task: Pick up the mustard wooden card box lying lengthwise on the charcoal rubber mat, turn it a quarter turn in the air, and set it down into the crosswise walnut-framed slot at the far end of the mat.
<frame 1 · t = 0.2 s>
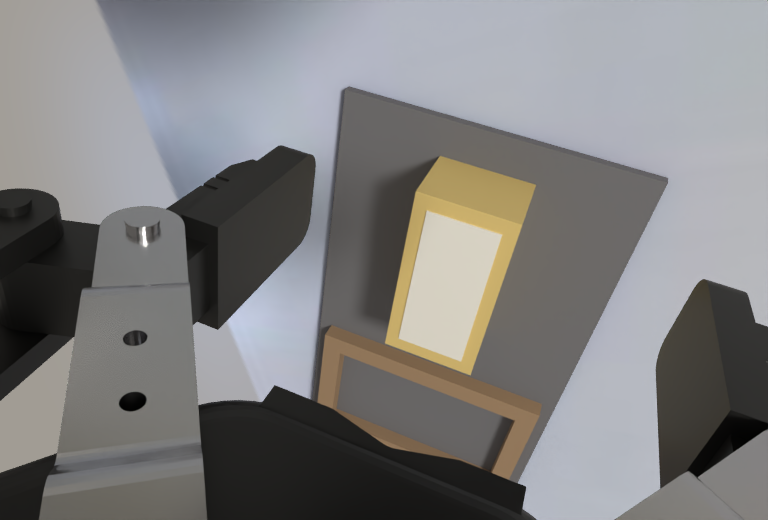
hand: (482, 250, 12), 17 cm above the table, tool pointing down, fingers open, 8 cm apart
mat: (442, 333, 37), on the table
card box: (464, 249, 33), resting on mat
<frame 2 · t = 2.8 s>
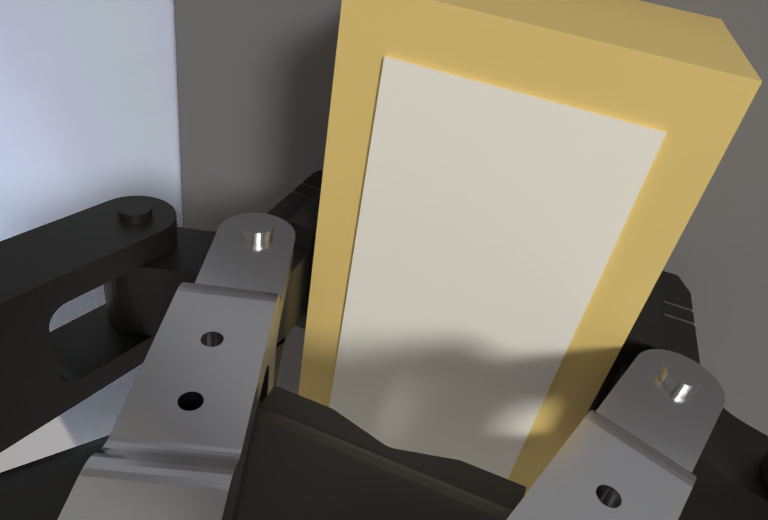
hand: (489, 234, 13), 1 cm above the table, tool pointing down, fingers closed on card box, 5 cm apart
mat: (434, 422, 17), on the table
card box: (493, 228, 13), resting on mat, touching gripper
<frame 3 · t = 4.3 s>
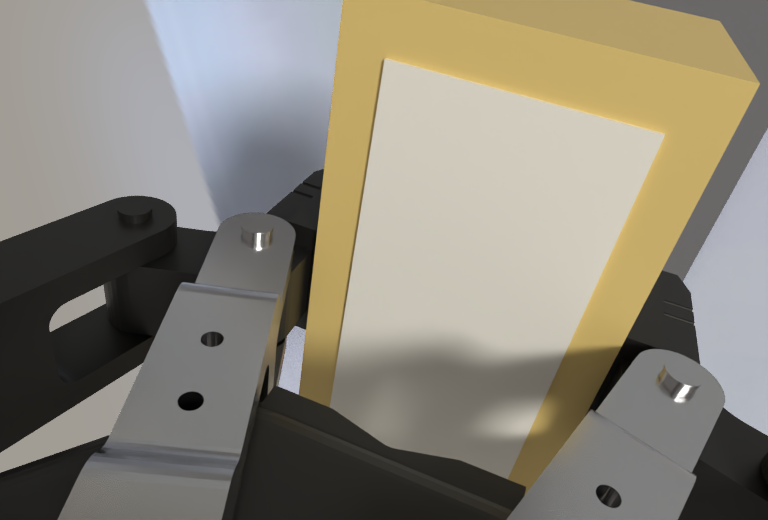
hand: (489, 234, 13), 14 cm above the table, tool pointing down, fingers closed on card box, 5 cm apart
mat: (509, 224, 29), on the table
card box: (493, 229, 13), point 14 cm above the table, touching gripper
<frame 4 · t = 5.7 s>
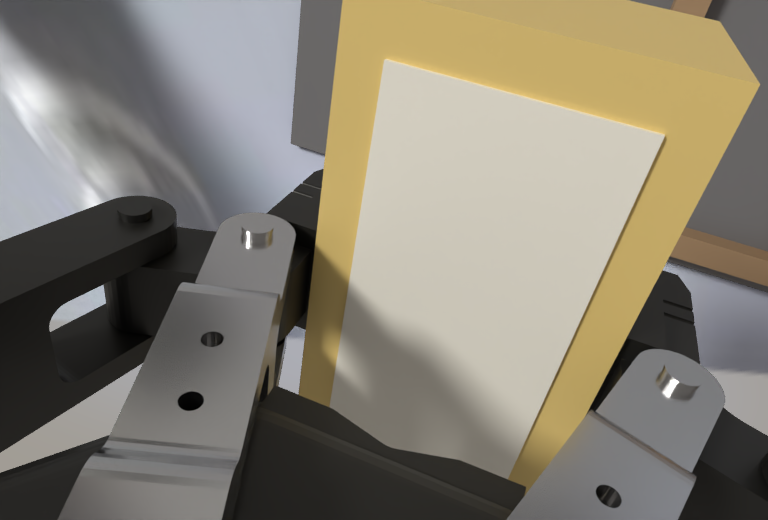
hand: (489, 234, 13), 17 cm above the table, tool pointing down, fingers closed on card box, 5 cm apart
mat: (589, 62, 27), on the table
card box: (493, 230, 13), point 17 cm above the table, touching gripper
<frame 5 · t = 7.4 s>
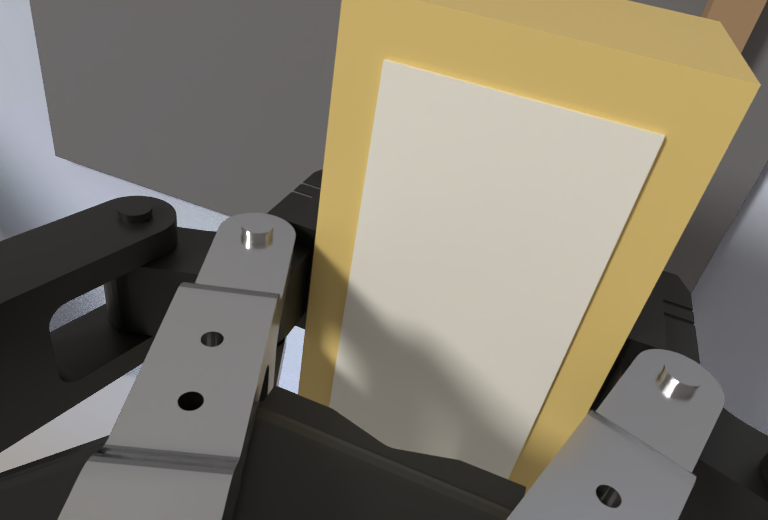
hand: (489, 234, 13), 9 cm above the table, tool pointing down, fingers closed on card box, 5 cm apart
mat: (350, 60, 22), on the table
card box: (492, 230, 13), point 9 cm above the table, touching gripper
when the fingers open (3 cm above the table, at t = 8.9 s): card box drops 2 cm, resting on mat.
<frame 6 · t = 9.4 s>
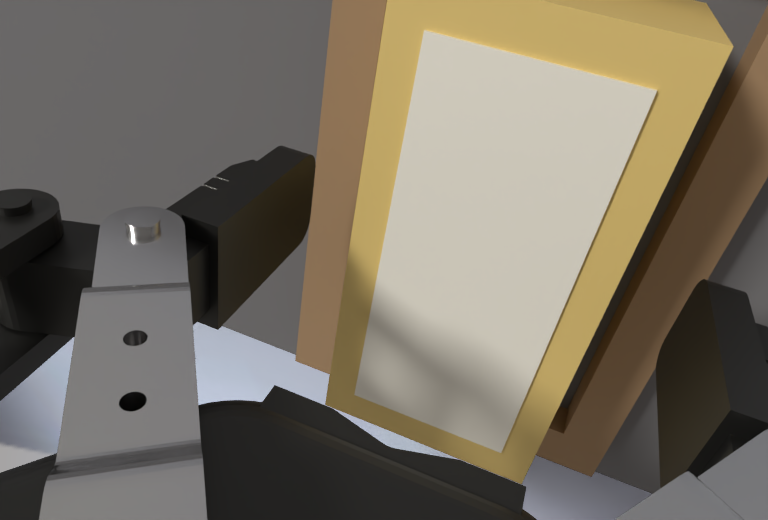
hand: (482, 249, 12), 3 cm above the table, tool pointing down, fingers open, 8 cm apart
mat: (264, 110, 16), on the table
card box: (506, 193, 15), resting on mat
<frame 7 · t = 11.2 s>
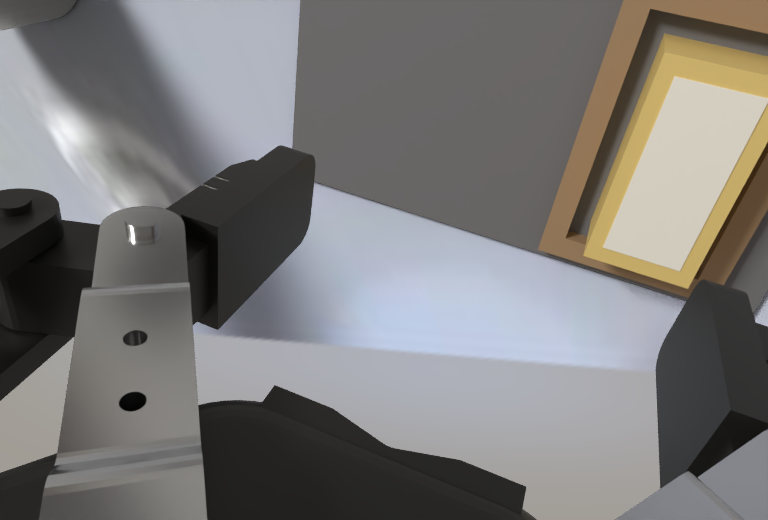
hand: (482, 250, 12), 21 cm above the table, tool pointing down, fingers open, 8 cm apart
mat: (538, 109, 31), on the table
card box: (675, 149, 29), resting on mat
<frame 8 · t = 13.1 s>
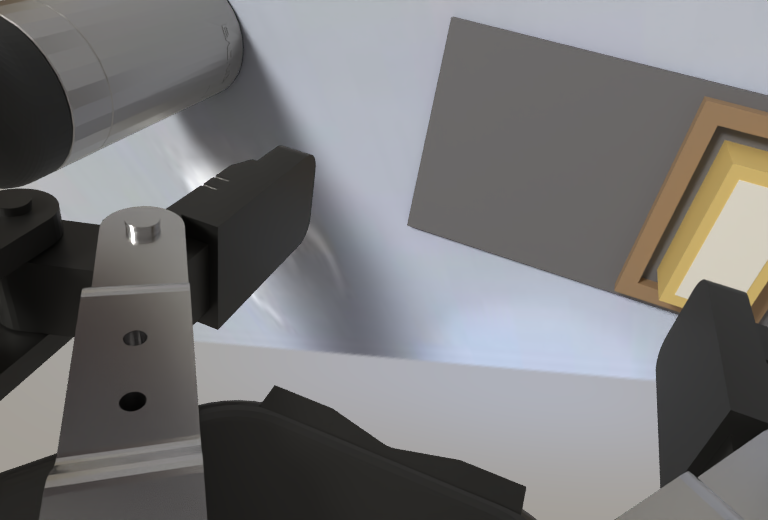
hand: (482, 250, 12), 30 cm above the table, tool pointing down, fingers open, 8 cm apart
mat: (620, 186, 41), on the table
card box: (727, 220, 39), resting on mat
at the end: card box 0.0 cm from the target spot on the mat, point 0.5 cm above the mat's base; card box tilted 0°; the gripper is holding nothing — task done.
